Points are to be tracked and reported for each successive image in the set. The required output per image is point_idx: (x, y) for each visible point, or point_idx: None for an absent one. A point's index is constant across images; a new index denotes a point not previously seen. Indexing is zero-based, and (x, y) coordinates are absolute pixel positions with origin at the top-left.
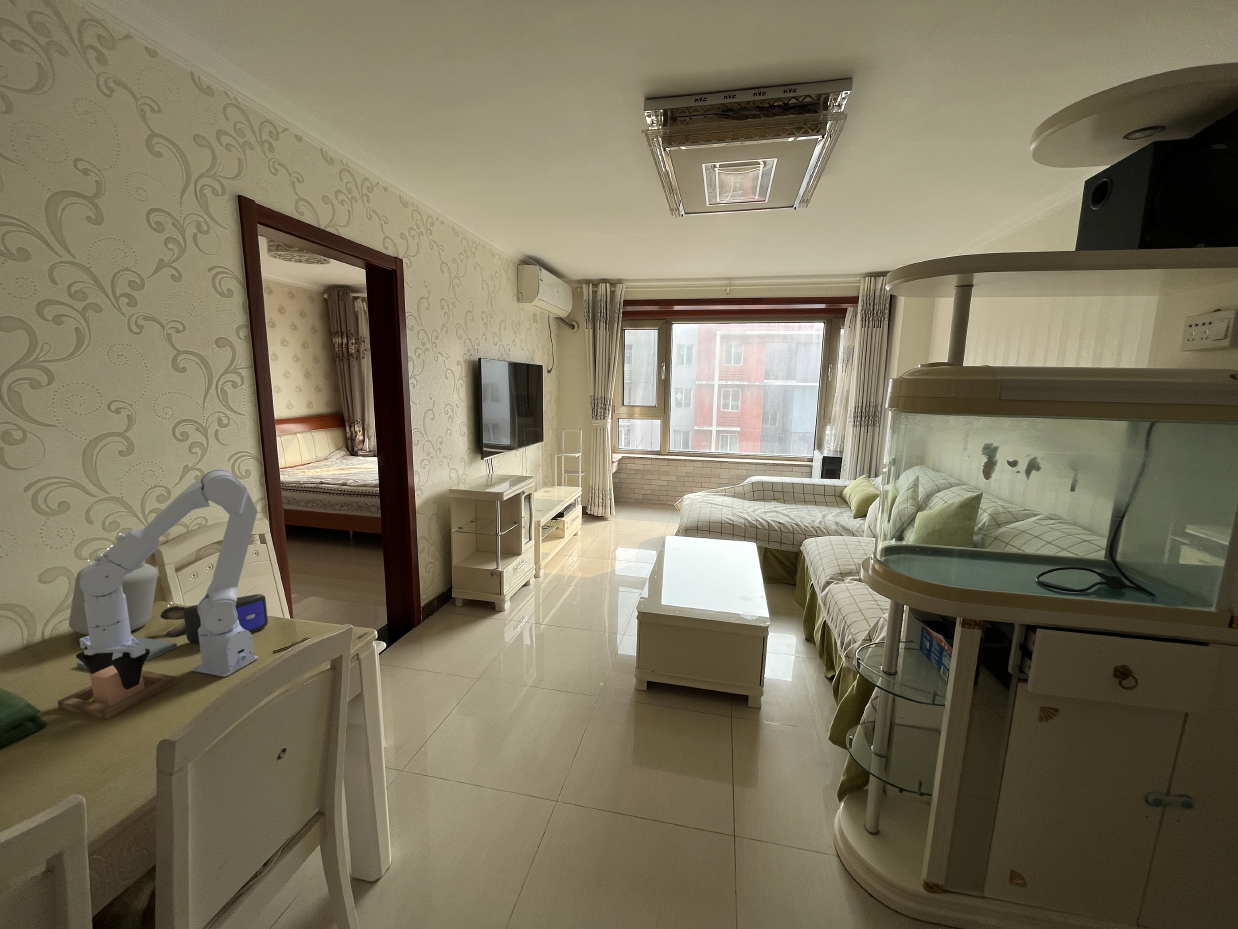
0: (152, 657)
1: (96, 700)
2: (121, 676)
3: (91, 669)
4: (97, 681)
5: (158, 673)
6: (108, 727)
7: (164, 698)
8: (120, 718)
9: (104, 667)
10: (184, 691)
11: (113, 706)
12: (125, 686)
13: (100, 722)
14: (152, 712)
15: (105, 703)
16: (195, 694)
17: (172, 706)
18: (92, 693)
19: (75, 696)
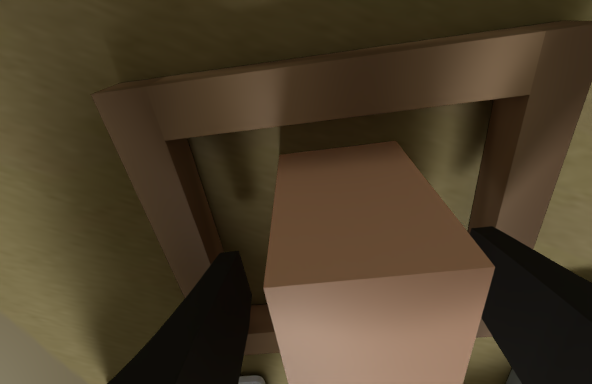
0: (513, 375)
1: (384, 149)
2: (178, 336)
3: (590, 315)
4: (376, 237)
5: None
6: (5, 38)
7: (122, 268)
8: (73, 116)
9: (527, 345)
10: (118, 312)
11: (137, 144)
12: (209, 267)
13: (116, 47)
14: (16, 201)
15: (311, 155)
16: (54, 315)
17: (11, 251)
18: (488, 176)
19: (527, 109)
